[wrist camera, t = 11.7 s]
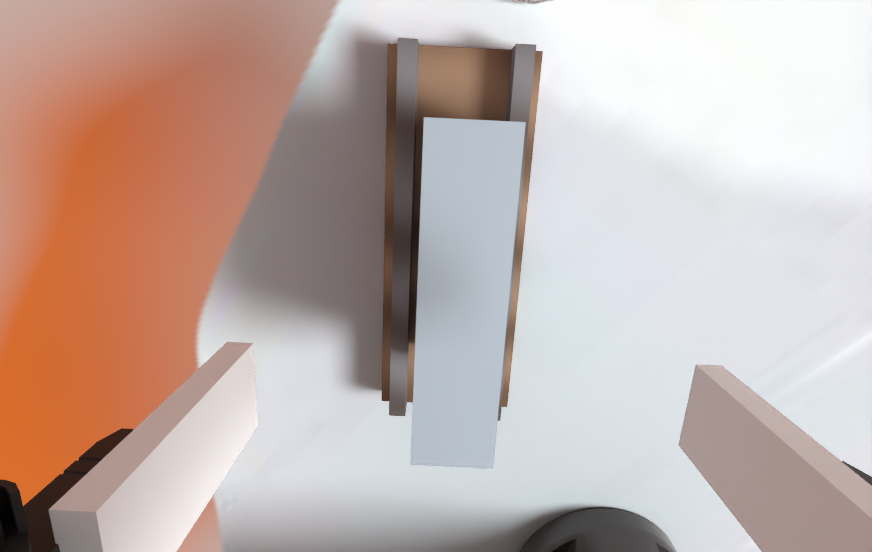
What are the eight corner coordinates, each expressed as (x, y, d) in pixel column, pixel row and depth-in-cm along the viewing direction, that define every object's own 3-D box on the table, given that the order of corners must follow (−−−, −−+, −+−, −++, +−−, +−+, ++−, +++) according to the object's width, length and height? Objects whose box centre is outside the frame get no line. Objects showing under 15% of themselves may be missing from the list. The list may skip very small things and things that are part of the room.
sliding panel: (473, 347, 36) (492, 468, 23) (421, 344, 36) (410, 464, 23) (490, 129, 32) (525, 122, 19) (431, 126, 32) (423, 117, 19)
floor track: (504, 396, 39) (510, 421, 36) (384, 391, 39) (378, 414, 36) (538, 55, 32) (549, 45, 29) (390, 48, 32) (384, 37, 29)
